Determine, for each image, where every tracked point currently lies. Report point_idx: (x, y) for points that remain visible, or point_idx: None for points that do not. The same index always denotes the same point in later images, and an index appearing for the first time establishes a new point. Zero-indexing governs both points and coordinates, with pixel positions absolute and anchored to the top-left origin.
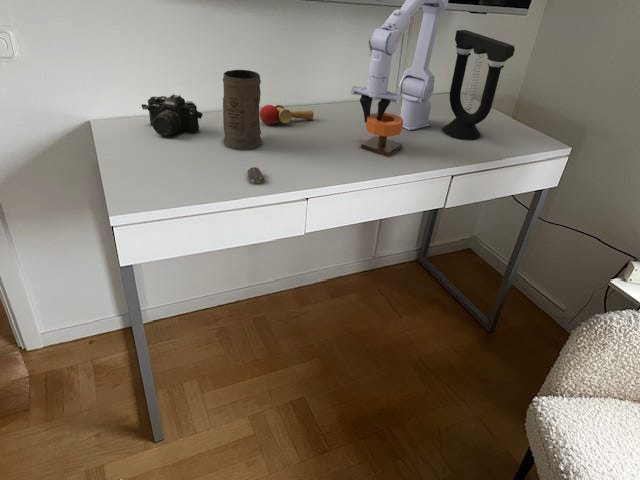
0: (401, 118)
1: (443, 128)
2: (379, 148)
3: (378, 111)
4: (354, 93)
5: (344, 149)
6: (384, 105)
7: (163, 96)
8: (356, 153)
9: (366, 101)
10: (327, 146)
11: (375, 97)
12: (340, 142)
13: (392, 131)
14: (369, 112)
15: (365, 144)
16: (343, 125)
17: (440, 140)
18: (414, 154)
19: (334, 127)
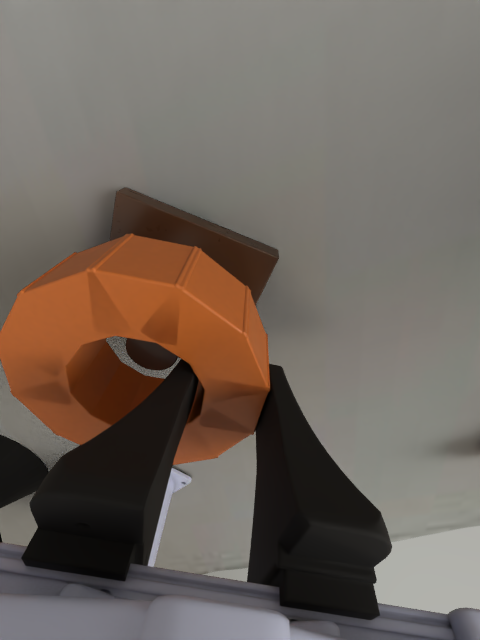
0: (39, 416)
1: (42, 471)
2: (177, 233)
3: (168, 419)
4: (467, 629)
5: (368, 198)
6: (63, 471)
7: None
8: (298, 164)
9: (306, 517)
10: (469, 205)
11: (157, 605)
12: (384, 282)
13: (58, 267)
14: (259, 440)
15: (257, 260)
16: (357, 432)
17: (13, 407)
18: (28, 263)
19: (396, 412)
